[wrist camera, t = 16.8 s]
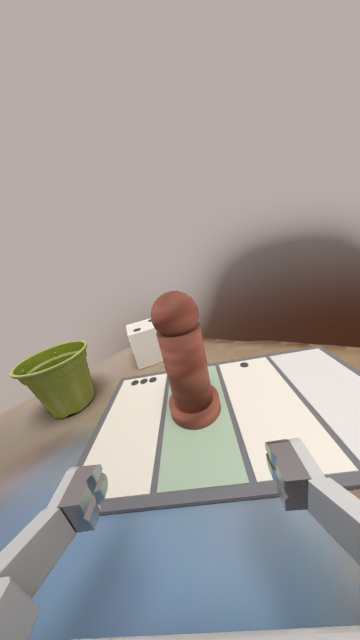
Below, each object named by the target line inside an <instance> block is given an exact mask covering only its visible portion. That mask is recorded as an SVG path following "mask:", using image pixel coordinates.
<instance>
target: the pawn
mask: <svg viewBox="0 0 360 640" xmlns="http://www.w3.org/2000/svg"><path fill="white" fill-rule="evenodd" d="M198 317H199V313H198V308H197V305H196V303H195V302H194V300H193V299H192V298H191V297H190V296H188V295H187V294H185V293H182V292H179V291H171V292H167V293H164V294H163V295H161V296H160V297H159V298H158V299H157V300H156V301H155V302H154V304H153V307H152V309H151V321H152V324H153V326H154V328H155V329H156V331H157V332H156V336H157V339H158V343H159V347H160V351H161V354H162V358H163V362H164V365H165V369H166V373H167V377H168V380H169V384H170V388H171V391H172V395H171V396H170V399H169V407H170V411H171V415H172V418H173V420H174V422H175V423H176V424H177V425H178V426H180V427H182V428H184V429H188V430H199V429H203V428H205V427H208V426H209V425H211V424H212V423H214V422H215V421H216V419H217V418H218V416H219V414H220V411H221V405H220V399H219V394H218V391H217V390H216V388H215V387H214V386H212V385H211V383H210V377H209V372H208V367H207V361H206V356H205V350H204V345H203V339H202V334H201V328H200V324H199V323H198Z"/></svg>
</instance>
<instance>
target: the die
mask: <svg viewBox="0 0 360 640" xmlns="http://www.w3.org/2000/svg"><path fill="white" fill-rule="evenodd" d="M126 328H127V334H128V338H129V341H130V344H131V347H132V350H133V354H134V357H135V360H136V363H137V366H138V369H139V370H140V369H143V368H146V367H149V366H152V365H154V364H157V363H160V362H163V358H162V354H161V351H160V347H159V343H158V339H157V336H156V332H157V331H156V329H155V328H154V326H153V324H152V321H151V318H150V319H147V320H143V321H140V322H137V323H133V324H129V325H127V326H126Z"/></svg>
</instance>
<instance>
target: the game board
mask: <svg viewBox="0 0 360 640" xmlns="http://www.w3.org/2000/svg"><path fill="white" fill-rule="evenodd" d="M207 367H208V372H209V377H210V383H211V385H212V386H214V387H215V388H216V390H217V391H218V394H219V399H220V405H221V411H220V414H219V416H218V418H217V419H216V421H215V422H214V423H212V424H211V425H209V426H208V427H205V428H203V429H199V430H188V429H184V428H182V427H180V426H178V425H177V424H176V423H175V422H174V420H173V418H172V415H171V411H170V407H169V399H170V396H171V395H172V391H171V388H170V384H169V380H168V377H167V373H166V371H165V372H159V373H153V374H147V375H141V376H135V377H129V378H123V379H121V381H120V383H119V385H118V386H117V388H116V390H115V392H114V394H113V396H112V398H111V400H110V402H109V404H108V406H107V408H106V410H105V412H104V414H103V416H102V418H101V420H100V421H99V423H98V425H97V427H96V429H95V431H94V433H93V435H92V437H91V439H90V441H89V443H88V445H87V447H86V449H85V451H84V453H83V454H82V456H81V458H80V460H79V462H78V464H77V466H76V467H78V466H88V465H96V464H101V466H102V468H103V469H102V472H103V473H104V474H106V476H107V479H108V488H107V493H106V496H105V499H104V500H103V501H102V502H101V504H100V509H101V511H100V514H99V515H108V514H118V513H127V512H137V511H147V510H156V509H166V508H176V507H185V506H195V505H204V504H214V503H224V502H233V501H243V500H253V499H262V498H272V497H280V496H279V493H278V490H277V483H276V482H275V481H274V480H273V479H272V476H271V474H270V471H269V468H268V464H267V460H266V453H267V451H266V448H265V442H269V441H276V440H282V439H292V438H300V439H301V440H302V442H303V443H304V445H305V446H306V448H307V449H308V451H309V452H310V454H311V455H312V457H313V459H314V460H315V462H316V463H317V465H318V466H319V468H320V469H321V471H322V472H323V474H324V475H325V477H326V478H331V479H333V480H334V481H335V482H337V483H338V484H339V485H341V486H342V487H343V488H345V489H346V490H349V489H359V488H360V371H358V370H357V369H355V368H354V367H352V366H350V365H349V364H347V363H346V362H344V361H343V360H341V359H340V358H338V357H336V356H335V355H333V354H332V353H330V352H329V351H327V350H326V349H324V348H323V347H321V346H315V347H309V348H303V349H297V350H291V351H285V352H279V353H273V354H267V355H261V356H255V357H249V358H243V359H237V360H231V361H225V362H219V363H213V364H207Z"/></svg>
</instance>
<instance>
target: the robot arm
mask: <svg viewBox="0 0 360 640" xmlns="http://www.w3.org/2000/svg"><path fill="white" fill-rule="evenodd" d="M265 448H266V451H267V453H266V460H267V464H268V468H269V471H270V474H271V476H272V479H273V480H274V481H275V482H276V483H277V490H278V493H279V496H280V498H281V501H282V503H283V506H284V508H285V511H292V510H307V509H308V512H309V513H310V514H311V515H312V516H313V517H314V518H315V519H316V520H317V521H318V522H319V523H320V524H321V526H322V527H323V528H324V529H325V530H326V531H327V532H328V533H329V534H330V535H331V536H332V537H333V538H334V539H335V540H336V541H337V542H338V543H339V544H340V545H341V547H342V548H343V549H344V550H345V551H346V552H347V553H348V554H349V555H350V556H351V557H352V558H353V559H354V560H355V561H356V562H357V563H358V564H359V565H360V499H358V498H357V497H356V496H354V495H353V494H352V493H350V492H349V491H348V490H346V489H345V488H343V487H342V486H341V485H339V484H338V483H337V482H335V481H334V480H333V479H331V478H326V477H325V475H324V474H323V472H322V471H321V469H320V468H319V466H318V465H317V463H316V462H315V460H314V459H313V457H312V455H311V454H310V452H309V451H308V449H307V448H306V446H305V445H304V443H303V442H302V440H301V439H300V438H292V439H282V440H276V441H269V442H265ZM102 469H103V468H102V466H101V464H96V465H88V466H78V467H70V468H69V469H68V470H67V472H66V473H65V475H64V477H63V479H62V480H61V482H60V484H59V486H58V488H57V490H56V491H55V493H54V495H53V497H52V499H51V500H50V502H49V504H48V506H47V508H46V509H44V510H42V511H41V512H40V513H39V514H38V515H37V516H36V517H35V518H34V519H33V520H32V521H31V522H30V523H29V524H28V525H27V526H26V527H25V528H24V529H23V530H22V531H21V532H20V533H19V534H18V535H17V536H16V537H15V538H14V539H13V540H12V541H11V542H10V543H9V544H8V545H7V546H6V547H5V548H4V549H3V550H2V551H1V552H0V640H28V639H29V636H30V634H31V631H32V629H33V626H34V624H35V621H36V619H37V616H38V614H39V606H38V605H37V604H36V603H35V602H34V601H33V600H32V599H31V598H32V597H33V595H34V594H35V593H36V591H37V590H38V588H39V587H40V585H41V584H42V583H43V581H44V580H45V578H46V577H47V575H48V574H49V573H50V571H51V570H52V568H53V567H54V565H55V564H56V563H57V561H58V560H59V558H60V557H61V555H62V554H63V553H64V551H65V550H66V548H67V547H68V545H69V544H70V542H71V541H72V540H73V538H74V537H75V535H76V533H77V532H84V531H91V530H95V527H96V524H97V521H98V517H99V514H100V511H101V509H100V504H101V502H102V501H103V500H104V499H105V496H106V493H107V488H108V479H107V476H106V474H104V473H103V472H102ZM359 593H360V586H359ZM71 640H360V625H355V626H334V627H314V628H294V629H274V630H253V631H233V632H213V633H193V634H173V635H152V636H132V637H112V638H92V639H71Z"/></svg>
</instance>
